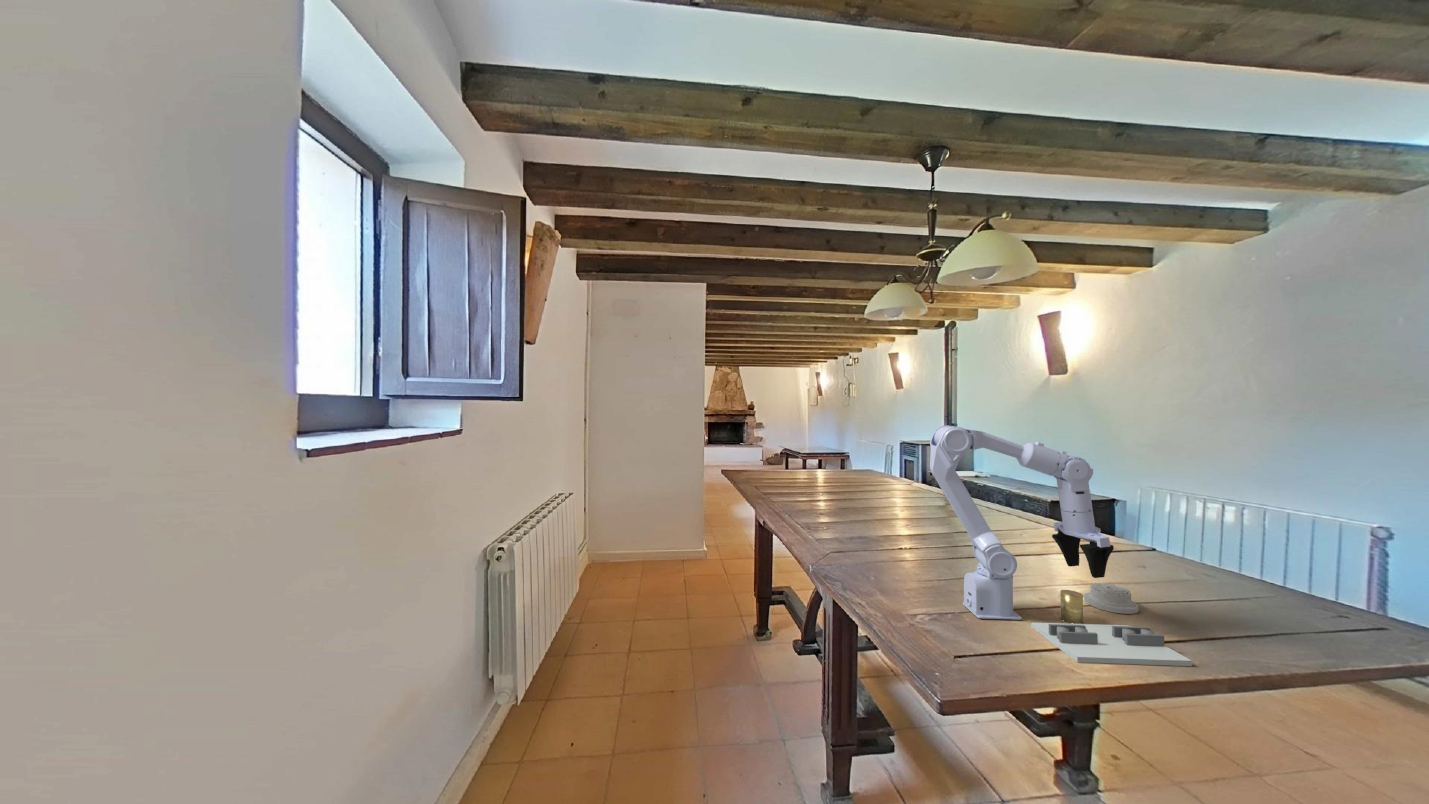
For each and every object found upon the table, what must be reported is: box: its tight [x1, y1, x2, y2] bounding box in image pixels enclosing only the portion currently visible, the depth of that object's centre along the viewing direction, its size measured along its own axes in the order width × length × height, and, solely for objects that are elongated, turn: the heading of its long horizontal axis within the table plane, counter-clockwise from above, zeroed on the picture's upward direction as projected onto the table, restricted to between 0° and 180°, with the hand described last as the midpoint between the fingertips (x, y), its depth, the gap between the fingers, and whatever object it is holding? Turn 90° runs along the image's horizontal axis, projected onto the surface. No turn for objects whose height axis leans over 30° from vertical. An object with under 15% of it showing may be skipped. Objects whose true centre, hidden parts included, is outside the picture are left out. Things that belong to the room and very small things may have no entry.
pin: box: [1059, 589, 1084, 624], centre depth 105 cm, size 4×4×6 cm
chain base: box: [1030, 622, 1193, 667], centre depth 94 cm, size 20×14×3 cm
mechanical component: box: [1083, 582, 1140, 615], centre depth 113 cm, size 10×4×10 cm
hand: (1085, 571), depth 104 cm, fingers open, 7 cm apart
